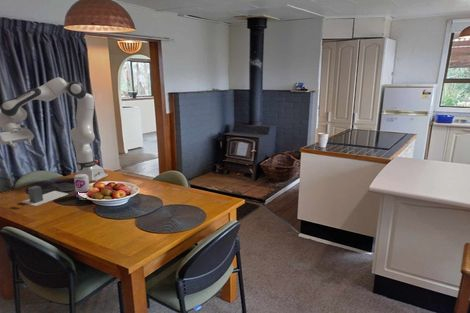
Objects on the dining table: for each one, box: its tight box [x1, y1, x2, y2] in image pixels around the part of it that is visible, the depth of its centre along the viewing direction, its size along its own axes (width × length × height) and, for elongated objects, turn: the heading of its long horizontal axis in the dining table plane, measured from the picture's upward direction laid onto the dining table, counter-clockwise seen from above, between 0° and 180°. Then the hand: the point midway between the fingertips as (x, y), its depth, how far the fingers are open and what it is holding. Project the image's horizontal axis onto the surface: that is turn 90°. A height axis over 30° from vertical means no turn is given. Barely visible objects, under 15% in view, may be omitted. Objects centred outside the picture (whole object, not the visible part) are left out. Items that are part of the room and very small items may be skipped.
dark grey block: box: [27, 185, 44, 203], centre depth 199 cm, size 5×5×9 cm
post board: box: [22, 190, 69, 207], centre depth 205 cm, size 22×14×8 cm, turn 154°
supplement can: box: [73, 173, 91, 201], centre depth 208 cm, size 8×8×15 cm
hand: (23, 146), depth 213 cm, fingers open, 8 cm apart
